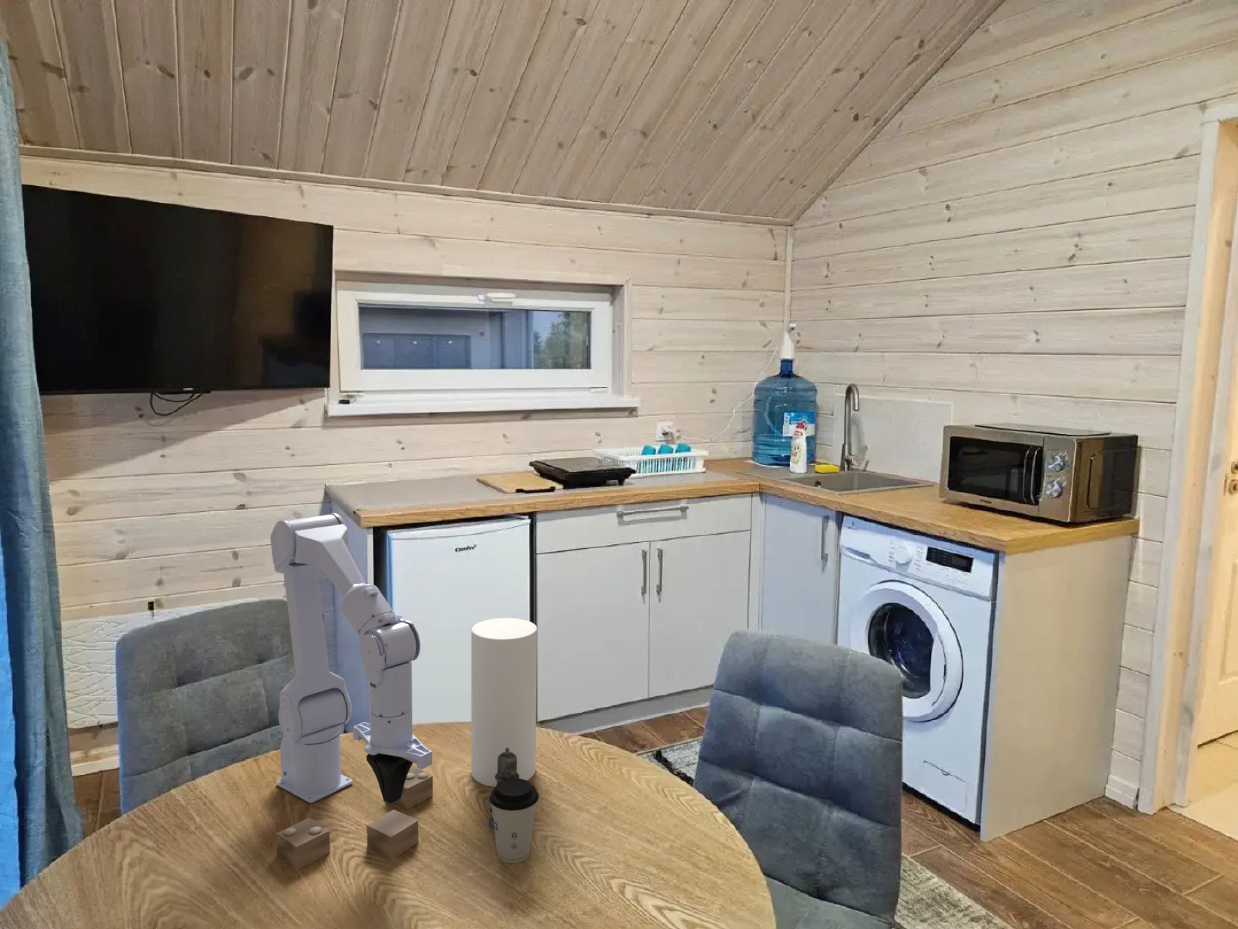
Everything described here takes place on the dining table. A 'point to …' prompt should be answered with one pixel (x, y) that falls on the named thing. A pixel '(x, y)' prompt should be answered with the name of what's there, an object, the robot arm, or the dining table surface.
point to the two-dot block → (303, 843)
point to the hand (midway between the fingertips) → (392, 799)
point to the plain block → (392, 834)
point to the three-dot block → (416, 788)
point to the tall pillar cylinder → (503, 696)
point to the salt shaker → (504, 772)
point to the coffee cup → (513, 818)
